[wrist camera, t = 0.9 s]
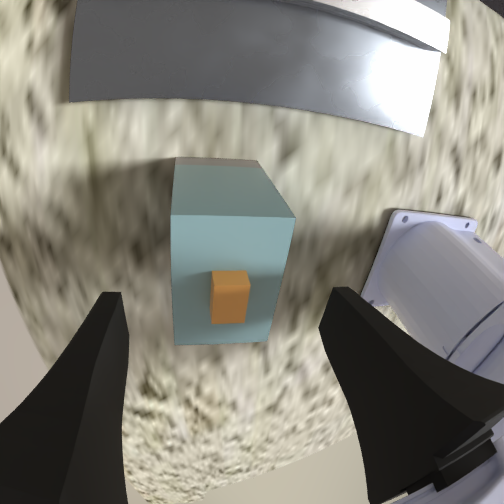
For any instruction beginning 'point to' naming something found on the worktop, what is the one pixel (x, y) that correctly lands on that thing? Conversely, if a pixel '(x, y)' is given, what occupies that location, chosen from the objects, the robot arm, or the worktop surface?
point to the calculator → (495, 5)
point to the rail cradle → (266, 54)
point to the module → (226, 250)
